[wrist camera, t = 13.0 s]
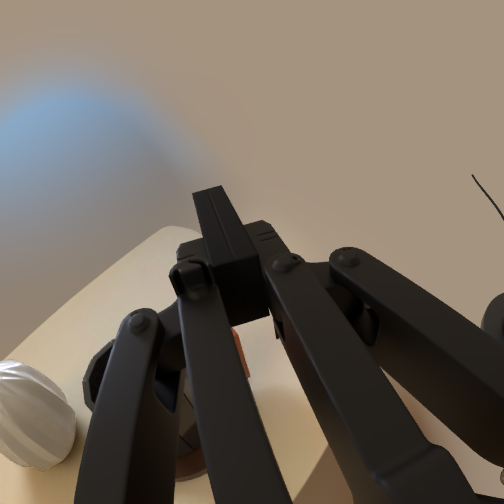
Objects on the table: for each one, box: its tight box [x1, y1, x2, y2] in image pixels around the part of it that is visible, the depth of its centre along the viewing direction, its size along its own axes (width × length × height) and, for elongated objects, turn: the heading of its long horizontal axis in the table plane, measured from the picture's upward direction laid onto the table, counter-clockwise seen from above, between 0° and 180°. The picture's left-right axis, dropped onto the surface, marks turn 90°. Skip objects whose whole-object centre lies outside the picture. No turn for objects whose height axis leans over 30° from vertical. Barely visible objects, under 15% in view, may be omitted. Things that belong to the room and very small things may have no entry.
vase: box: [0, 359, 76, 471], centre depth 24 cm, size 14×14×13 cm
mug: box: [82, 327, 250, 458], centre depth 27 cm, size 12×15×10 cm
